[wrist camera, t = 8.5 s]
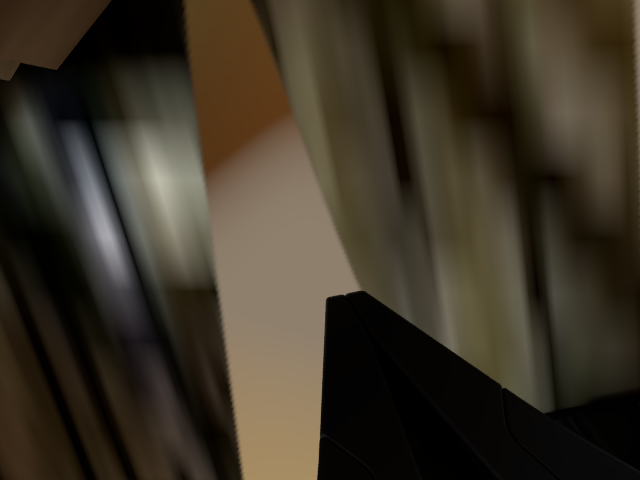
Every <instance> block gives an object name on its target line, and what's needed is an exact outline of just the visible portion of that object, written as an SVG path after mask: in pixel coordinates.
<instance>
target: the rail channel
mask: <svg viewBox="0 0 640 480" xmlns="http://www.w3.org/2000/svg"><path fill="white" fill-rule="evenodd" d="M19 65H20V62H15V61H10V60H5V59H0V79H1V80H8V81H10V80H11V78H12V77H13V75H14V73H15V71H16V70H17V68H18V66H19Z"/></svg>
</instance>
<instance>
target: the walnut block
mask: <svg viewBox="0 0 640 480" xmlns="http://www.w3.org/2000/svg"><path fill="white" fill-rule="evenodd" d="M110 2H111V0H0V59H5V60H10V61H15V62H20V63H25V64H30V65H34V66H39V67H44V68H49V69H54V70H57V69H58V68H59V66H60V65H61V64H62V63H63V61H64V60H65V59H66V58H67V56H68V55H69V54H70V52H71V51H72V50H73V49H74V47H75V46H76V45H77V44H78V42H79V41H80V40H81V38H82V37H83V36H84V35H85V33H86V32H87V31H88V30H89V28H90V27H91V26H92V24H93V23H94V22H95V21H96V19H97V18H98V17H99V16H100V14H101V13H102V12H103V10H104V9H105V8H106V7H107V5H108V4H109V3H110Z"/></svg>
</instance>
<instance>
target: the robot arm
mask: <svg viewBox="0 0 640 480" xmlns="http://www.w3.org/2000/svg"><path fill="white" fill-rule="evenodd" d="M320 427H321V428H320V443H319V464H318V476H317V480H640V396H635V397H630V398H625V399H621V400H616V401H611V402H606V403H601V404H597V405H592V406H587V407H582V408H578V409H573V410H568V411H563V412H559V413H554V414H549V415H545V414H543V413H542V412H540V411H539V410H537V409H536V408H534V407H533V406H531V405H530V404H528V403H527V402H525V401H524V400H522V399H521V398H519V397H518V396H516V395H515V394H514V393H512V392H511V391H509V390H508V389H506V388H503V389H502V386H501V385H500V384H499V383H497V382H496V381H494V380H493V379H491V378H490V377H489V376H487V375H486V374H484V373H483V372H481V371H480V370H478V369H477V368H475V367H474V366H473V365H471V364H470V363H468V362H467V361H465V360H464V359H462V358H461V357H459V356H458V355H457V354H455V353H454V352H452V351H451V350H449V349H448V348H446V347H445V346H444V345H442V344H441V343H439V342H438V341H436V340H435V339H433V338H432V337H430V336H429V335H428V334H426V333H425V332H423V331H422V330H420V329H419V328H417V327H416V326H414V325H413V324H412V323H410V322H409V321H407V320H406V319H404V318H403V317H401V316H400V315H398V314H397V313H396V312H394V311H393V310H391V309H390V308H388V307H387V306H385V305H384V304H382V303H381V302H380V301H378V300H377V299H375V298H374V297H372V296H371V295H369V294H368V293H367V292H365V291H357V292H352V293H348V294H346V295H337V296H332V297H328V298H327V299H326V312H325V336H324V357H323V380H322V403H321V426H320Z"/></svg>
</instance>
